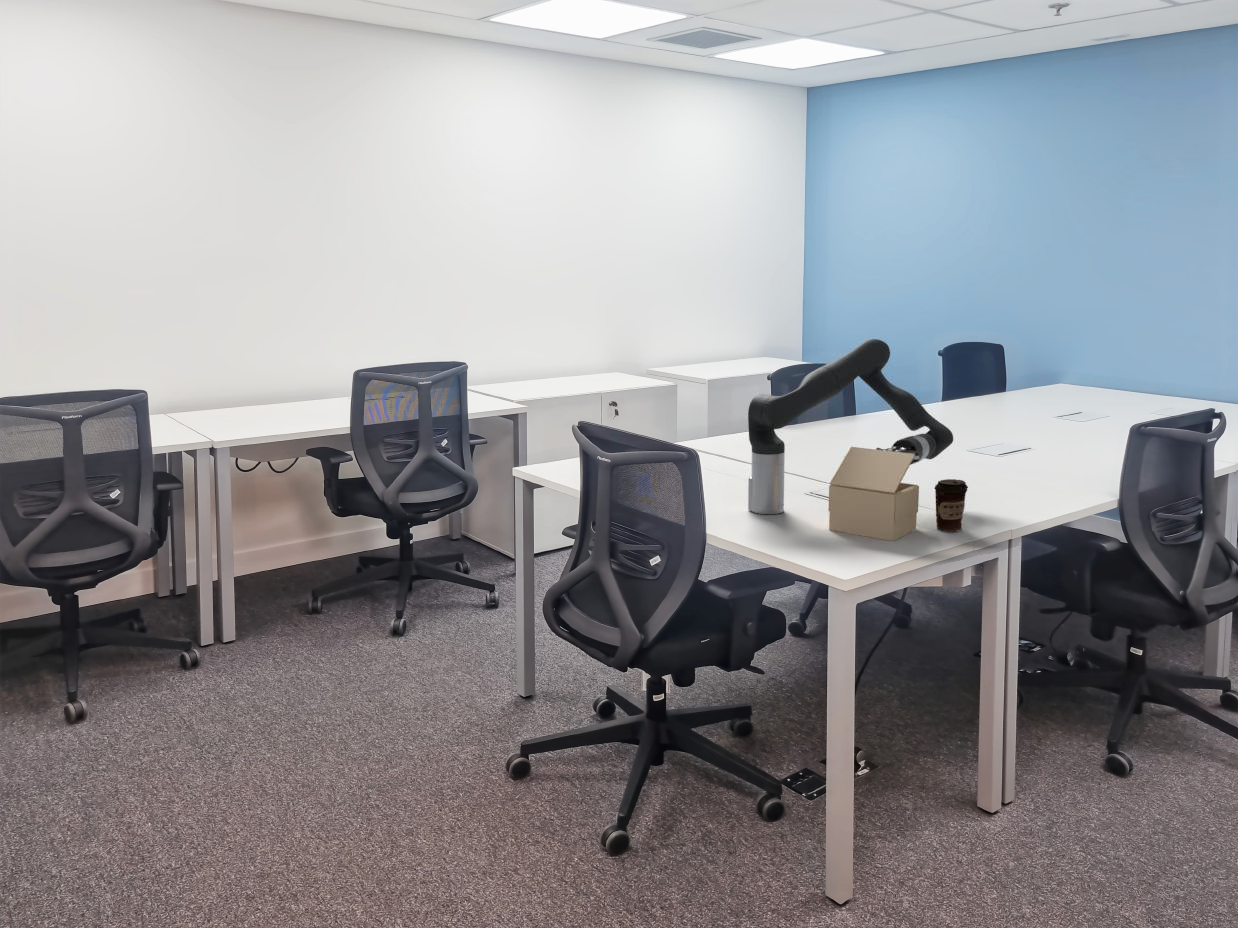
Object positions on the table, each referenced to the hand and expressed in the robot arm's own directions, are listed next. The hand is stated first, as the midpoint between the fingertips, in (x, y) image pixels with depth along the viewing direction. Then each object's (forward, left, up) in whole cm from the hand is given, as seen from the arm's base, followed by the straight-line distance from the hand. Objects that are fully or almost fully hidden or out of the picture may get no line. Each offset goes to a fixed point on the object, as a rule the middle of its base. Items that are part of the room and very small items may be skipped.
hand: (882, 459), depth 266 cm
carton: (0, -5, -18) cm, 19 cm away
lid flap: (0, -6, -2) cm, 6 cm away
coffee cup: (+16, +7, -18) cm, 25 cm away
